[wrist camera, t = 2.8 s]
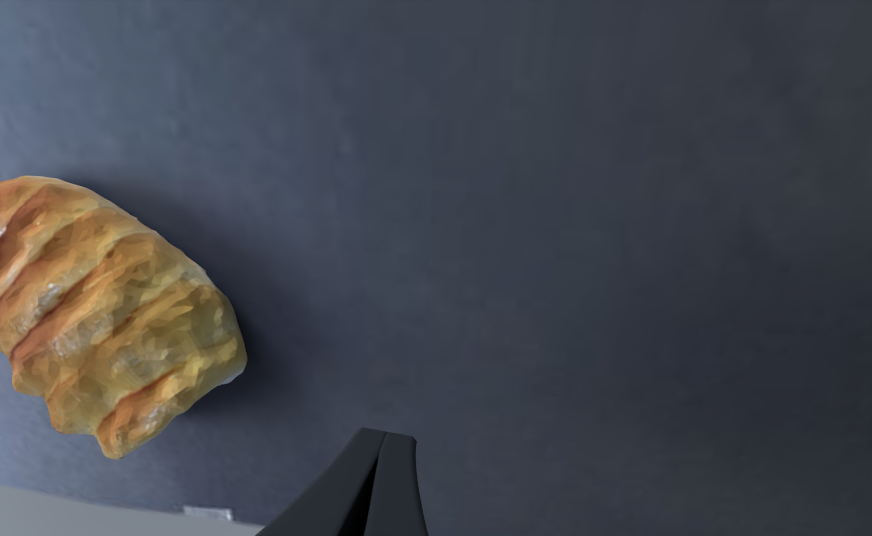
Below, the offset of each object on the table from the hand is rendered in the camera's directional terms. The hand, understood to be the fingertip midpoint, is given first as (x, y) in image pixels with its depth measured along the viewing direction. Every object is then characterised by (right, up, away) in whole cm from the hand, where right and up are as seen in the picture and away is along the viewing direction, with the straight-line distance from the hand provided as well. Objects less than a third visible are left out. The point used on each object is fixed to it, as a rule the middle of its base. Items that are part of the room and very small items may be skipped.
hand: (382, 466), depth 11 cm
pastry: (-9, +3, +6) cm, 11 cm away
